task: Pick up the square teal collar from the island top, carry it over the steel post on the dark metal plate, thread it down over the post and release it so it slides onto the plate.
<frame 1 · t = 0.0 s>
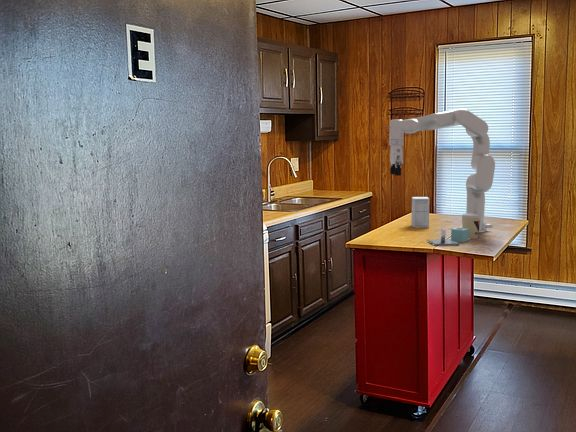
hand: (395, 174, 325), 31 cm above the table, tool pointing down, fingers open, 9 cm apart
collar: (459, 240, 303), on the table
coffee cup: (470, 237, 313), on the table
shaft stand: (442, 243, 295), on the table
supplement box: (419, 226, 350), on the table
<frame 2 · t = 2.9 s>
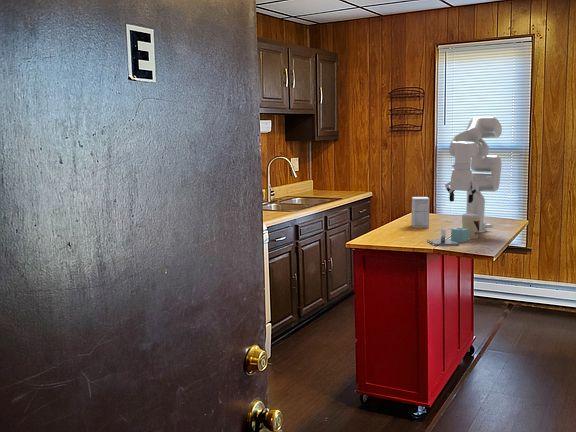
hand: (461, 202, 300), 20 cm above the table, tool pointing down, fingers open, 9 cm apart
nothing on the table moved.
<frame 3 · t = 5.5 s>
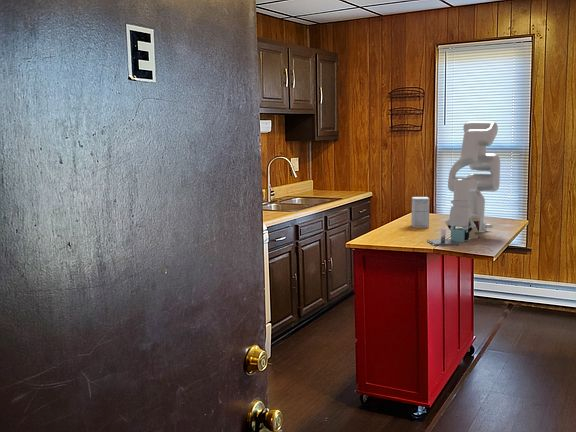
hand: (459, 238, 303), 1 cm above the table, tool pointing down, fingers closed on collar, 6 cm apart
collar: (459, 240, 303), on the table, touching gripper
everything else where it was.
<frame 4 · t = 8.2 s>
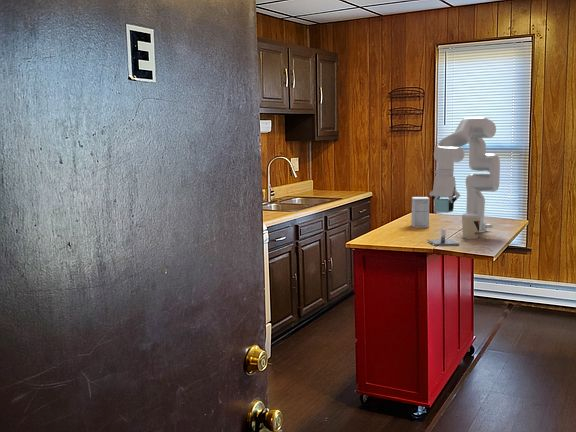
hand: (444, 209, 293), 17 cm above the table, tool pointing down, fingers closed on collar, 6 cm apart
collar: (443, 211, 293), point 16 cm above the table, touching gripper
everything else where it was.
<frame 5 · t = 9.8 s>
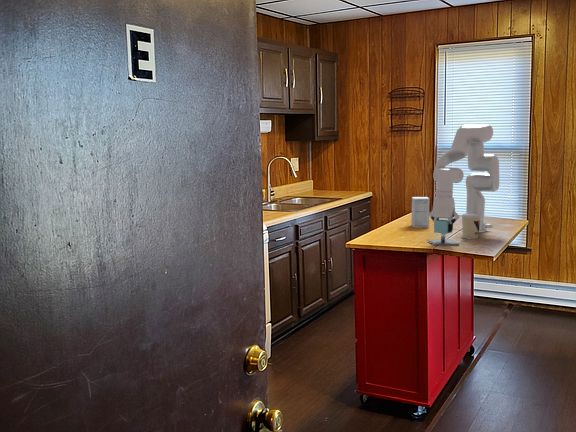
hand: (443, 230, 294), 6 cm above the table, tool pointing down, fingers closed on collar, 6 cm apart
collar: (443, 232, 294), point 5 cm above the table, touching gripper
everything else where it was.
when the fingers open (5 cm above the table, at t = 11.0 s): collar drops 3 cm, resting on shaft stand.
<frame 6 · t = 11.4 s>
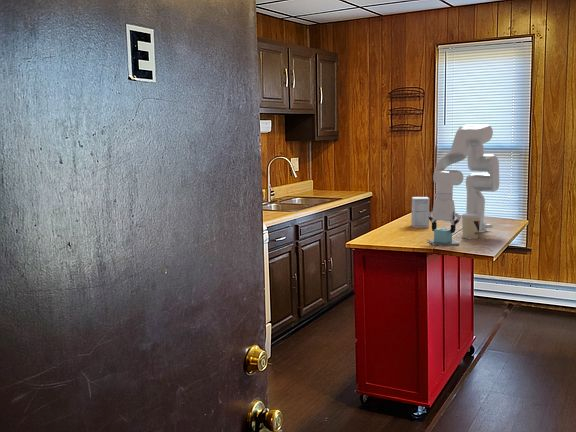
hand: (443, 231, 295), 6 cm above the table, tool pointing down, fingers open, 9 cm apart
collar: (442, 241, 295), point 1 cm above the table, touching shaft stand
everything else where it was.
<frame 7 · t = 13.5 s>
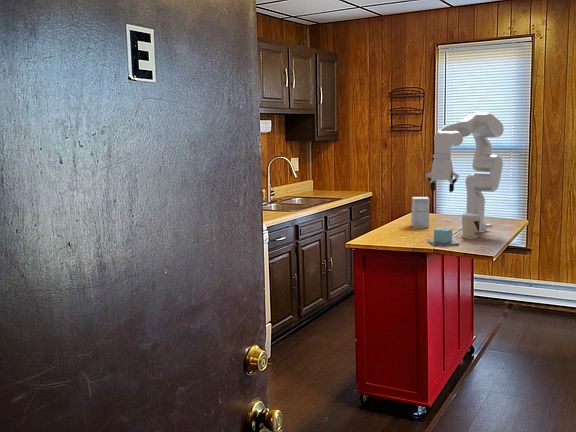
hand: (442, 191, 304), 24 cm above the table, tool pointing down, fingers open, 9 cm apart
nothing on the table moved.
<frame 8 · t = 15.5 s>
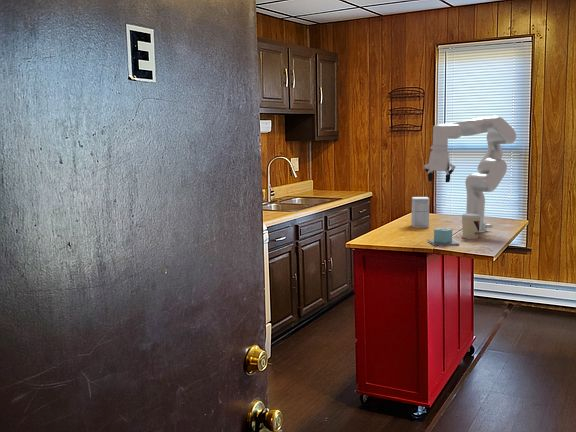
hand: (438, 181, 316), 28 cm above the table, tool pointing down, fingers open, 9 cm apart
nothing on the table moved.
at the end: collar 0.0 cm off-centre on the shaft stand, point 1.0 cm above the shaft stand's base; collar tilted 0°; the gripper is holding nothing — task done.
